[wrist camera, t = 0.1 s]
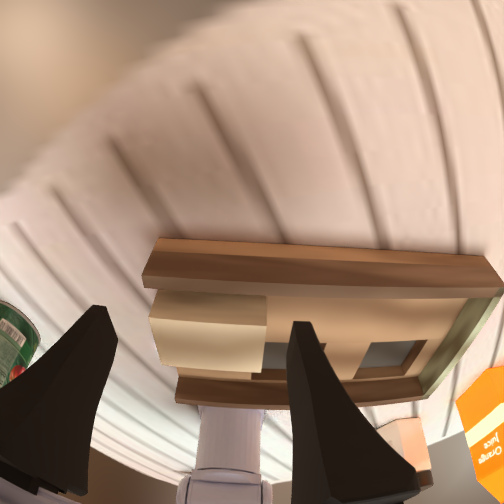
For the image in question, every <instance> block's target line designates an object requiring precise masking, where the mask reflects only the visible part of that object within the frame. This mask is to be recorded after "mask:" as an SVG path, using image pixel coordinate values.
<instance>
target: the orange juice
mask: <svg viewBox="0 0 504 504" xmlns="http://www.w3.org/2000/svg"><path fill="white" fill-rule="evenodd" d="M456 405H457V408H458V411H459V414H460V417H461V421H462V424H463V427H464V431H465V435H466V439H467V442H468V446H469V448H470V452H471V456H472V460H473V464H474V468H475V472H476V476H477V481H479V482H480V483H481V484H482V485H483V486H484V487H485V488H486V489H487V490H488V491H489V492H490V493H491V494H492V495H493V496H494V497H496V499H498V500H499V501H500V502H501V503H504V366H501V367H496V368H490V369H486V370H485V371H484V372H483V373H482V375H481V376H480V377H479V378H478V379H477V380H476V381H475V382H474V383H473V384H472V385H471V386H470V387H469V389H468V390H467V391H466V392H465V393H464V394H463V395H462V396H461V397H460V398H459V399H458V400H457V401H456Z"/></svg>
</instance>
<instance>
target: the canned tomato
mask: <svg viewBox="0 0 504 504" xmlns="http://www.w3.org/2000/svg"><path fill="white" fill-rule="evenodd" d="M39 344H40V336H39V333H38V331H37V329H36V328H35V326H34V325H33V324H32V322H31V321H30V320H29V319H28V318H27V317H26V316H25V315H24V314H23V313H22V312H20V311H19V310H18V309H16V308H15V307H13V306H12V305H10V304H8V303H6V302H3V301H0V388H1V387H3V386H5V385H6V384H7V383H9V382H10V381H12V380H13V379H14V378H16V377H17V376H19V375H20V374H21V373H23V372H24V371H25V370H26V369H27V367H28V365H29V363H30V361H31V359H32V357H33V355H34V353H35V351H36V349H37V347H38V346H39Z"/></svg>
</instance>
